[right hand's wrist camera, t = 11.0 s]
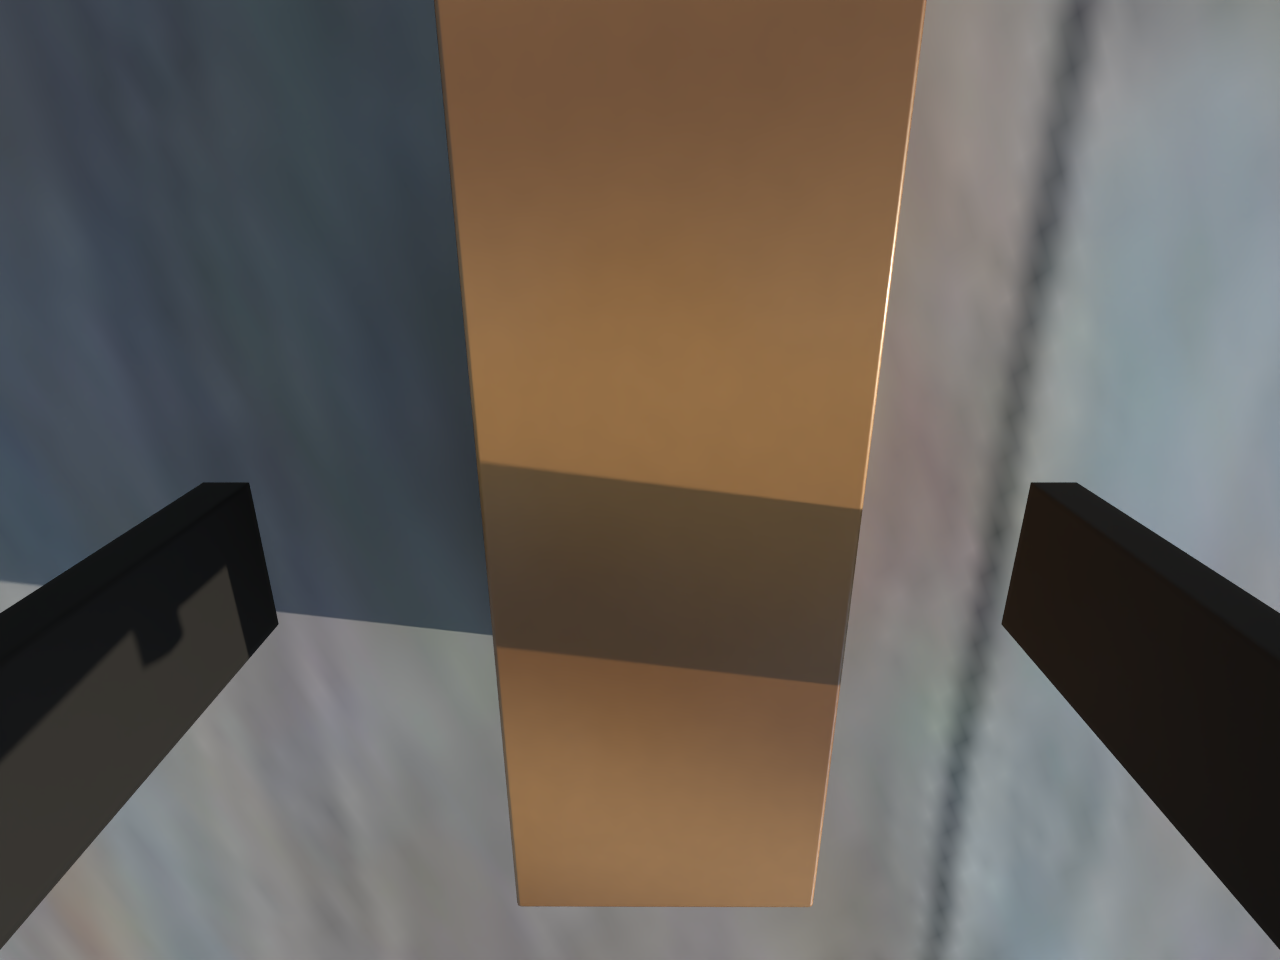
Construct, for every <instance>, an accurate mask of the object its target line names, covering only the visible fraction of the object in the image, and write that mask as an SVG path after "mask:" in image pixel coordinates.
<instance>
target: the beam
mask: <svg viewBox="0 0 1280 960" xmlns="http://www.w3.org/2000/svg"><path fill="white" fill-rule="evenodd" d="M926 1H927V0H434V6H435V17H436V28H437V39H438V49H439V60H440V71H441V82H442V93H443V104H444V114H445V125H446V136H447V147H448V158H449V168H450V179H451V190H452V201H453V212H454V223H455V233H456V244H457V255H458V266H459V277H460V287H461V298H462V309H463V320H464V331H465V342H466V352H467V363H468V374H469V385H470V396H471V406H472V417H473V428H474V439H475V450H476V461H477V471H478V482H479V493H480V504H481V515H482V525H483V536H484V547H485V558H486V569H487V580H488V590H489V601H490V612H491V623H492V634H493V644H494V655H495V666H496V677H497V688H498V699H499V709H500V720H501V731H502V742H503V753H504V763H505V774H506V785H507V796H508V807H509V818H510V828H511V839H512V850H513V861H514V872H515V882H516V893H517V903H518V905H519V906H607V907H811V906H812V904H813V897H814V889H815V881H816V873H817V866H818V858H819V850H820V842H821V834H822V826H823V818H824V810H825V802H826V794H827V786H828V778H829V770H830V762H831V754H832V747H833V739H834V731H835V723H836V715H837V707H838V699H839V691H840V683H841V675H842V667H843V659H844V651H845V643H846V635H847V628H848V620H849V612H850V604H851V596H852V588H853V580H854V572H855V564H856V556H857V548H858V540H859V532H860V524H861V517H862V509H863V501H864V493H865V485H866V477H867V469H868V461H869V453H870V445H871V437H872V429H873V421H874V413H875V405H876V398H877V390H878V382H879V374H880V366H881V358H882V350H883V342H884V334H885V326H886V318H887V310H888V302H889V294H890V286H891V279H892V271H893V263H894V255H895V247H896V239H897V231H898V223H899V215H900V207H901V199H902V191H903V183H904V175H905V168H906V160H907V152H908V144H909V136H910V128H911V120H912V112H913V104H914V96H915V88H916V80H917V72H918V64H919V56H920V49H921V41H922V33H923V25H924V17H925V9H926Z"/></svg>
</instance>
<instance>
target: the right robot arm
mask: <svg viewBox="0 0 1280 960" xmlns="http://www.w3.org/2000/svg"><path fill="white" fill-rule="evenodd" d="M277 625H278V619H277V614H276V610H275V605H274V600H273V595H272V591H271V586H270V581H269V576H268V571H267V567H266V562H265V557H264V552H263V547H262V543H261V538H260V533H259V528H258V523H257V519H256V514H255V509H254V504H253V499H252V495H251V490H250V485H249V483H202V484H200V485H199V486H197V487H196V488H194V489H193V490H191V491H189V492H188V493H186V494H185V495H183V496H182V497H180V498H179V499H177V500H175V501H174V502H172V503H171V504H169V505H168V506H166V507H165V508H163V509H162V510H160V511H158V512H157V513H155V514H154V515H152V516H151V517H149V518H148V519H146V520H144V521H143V522H141V523H140V524H138V525H137V526H135V527H134V528H132V529H130V530H129V531H127V532H126V533H124V534H123V535H121V536H120V537H118V538H116V539H115V540H113V541H112V542H110V543H109V544H107V545H106V546H104V547H102V548H101V549H99V550H98V551H96V552H95V553H93V554H92V555H90V556H88V557H87V558H85V559H84V560H82V561H81V562H79V563H78V564H76V565H75V566H73V567H71V568H70V569H68V570H67V571H65V572H64V573H62V574H61V575H59V576H57V577H56V578H54V579H53V580H51V581H50V582H48V583H47V584H45V585H43V586H42V587H40V588H39V589H37V590H36V591H34V592H33V593H31V594H29V595H28V596H26V597H25V598H23V599H22V600H20V601H19V602H17V603H16V604H14V605H12V606H11V607H9V608H8V609H6V610H5V611H3V612H2V613H0V949H1V948H2V947H3V946H4V945H5V943H6V942H7V941H8V940H9V939H10V938H11V936H12V935H13V934H14V933H15V932H16V931H17V929H18V928H19V927H20V926H21V925H22V924H23V922H24V921H25V920H26V919H27V918H28V917H29V915H30V914H31V913H32V912H33V911H34V910H35V908H36V907H37V906H38V905H39V904H40V902H41V901H42V900H43V899H44V898H45V897H46V895H47V894H48V893H49V892H50V891H51V890H52V888H53V887H54V886H55V885H56V884H57V883H58V881H59V880H60V879H61V878H62V877H63V876H64V874H65V873H66V872H67V871H68V870H69V869H70V867H71V866H72V865H73V864H74V863H75V862H76V860H77V859H78V858H79V857H80V856H81V855H82V853H83V852H84V851H85V850H86V849H87V848H88V846H89V845H90V844H91V843H92V842H93V841H94V839H95V838H96V837H97V836H98V835H99V833H100V832H101V831H102V830H103V829H104V828H105V826H106V825H107V824H108V823H109V822H110V821H111V819H112V818H113V817H114V816H115V815H116V814H117V812H118V811H119V810H120V809H121V808H122V807H123V805H124V804H125V803H126V802H127V801H128V800H129V798H130V797H131V796H132V795H133V794H134V793H135V791H136V790H137V789H138V788H139V787H140V786H141V784H142V783H143V782H144V781H145V780H146V779H147V777H148V776H149V775H150V774H151V773H152V772H153V770H154V769H155V768H156V767H157V766H158V764H159V763H160V762H161V761H162V760H163V759H164V757H165V756H166V755H167V754H168V753H169V752H170V750H171V749H172V748H173V747H174V746H175V745H176V743H177V742H178V741H179V740H180V739H181V738H182V736H183V735H184V734H185V733H186V732H187V731H188V729H189V728H190V727H191V726H192V725H193V724H194V722H195V721H196V720H197V719H198V718H199V717H200V715H201V714H202V713H203V712H204V711H205V710H206V708H207V707H208V706H209V705H210V704H211V703H212V701H213V700H214V699H215V698H216V697H217V696H218V694H219V693H220V692H221V691H222V690H223V688H224V687H225V686H226V685H227V684H228V683H229V681H230V680H231V679H232V678H233V677H234V676H235V674H236V673H237V672H238V671H239V670H240V669H241V667H242V666H243V665H244V664H245V663H246V662H247V660H248V659H249V658H250V657H251V656H252V655H253V653H254V652H255V651H256V650H257V649H258V648H259V646H260V645H261V644H262V643H263V642H264V641H265V639H266V638H267V637H268V636H269V635H270V634H271V632H272V631H273V630H274V629H275V628H276V627H277ZM1002 625H1003V627H1004V628H1005V629H1006V630H1007V631H1008V632H1009V634H1010V635H1011V636H1012V637H1013V638H1014V639H1015V641H1016V642H1017V643H1018V644H1019V645H1020V646H1021V648H1022V649H1023V650H1024V651H1025V652H1026V653H1027V655H1028V656H1029V657H1030V658H1031V659H1032V660H1033V662H1034V663H1035V664H1036V665H1037V666H1038V667H1039V669H1040V670H1041V671H1042V672H1043V673H1044V674H1045V676H1046V677H1047V678H1048V679H1049V680H1050V681H1051V683H1052V684H1053V685H1054V686H1055V687H1056V688H1057V690H1058V691H1059V692H1060V693H1061V694H1062V696H1063V697H1064V698H1065V699H1066V700H1067V701H1068V703H1069V704H1070V705H1071V706H1072V707H1073V708H1074V710H1075V711H1076V712H1077V713H1078V714H1079V715H1080V717H1081V718H1082V719H1083V720H1084V721H1085V722H1086V724H1087V725H1088V726H1089V727H1090V728H1091V729H1092V731H1093V732H1094V733H1095V734H1096V735H1097V736H1098V738H1099V739H1100V740H1101V741H1102V742H1103V743H1104V745H1105V746H1106V747H1107V748H1108V749H1109V750H1110V752H1111V753H1112V754H1113V755H1114V756H1115V757H1116V759H1117V760H1118V761H1119V762H1120V763H1121V765H1122V766H1123V767H1124V768H1125V769H1126V770H1127V772H1128V773H1129V774H1130V775H1131V776H1132V777H1133V779H1134V780H1135V781H1136V782H1137V783H1138V784H1139V786H1140V787H1141V788H1142V789H1143V790H1144V791H1145V793H1146V794H1147V795H1148V796H1149V797H1150V798H1151V800H1152V801H1153V802H1154V803H1155V804H1156V805H1157V807H1158V808H1159V809H1160V810H1161V811H1162V812H1163V814H1164V815H1165V816H1166V817H1167V818H1168V819H1169V821H1170V822H1171V823H1172V824H1173V825H1174V826H1175V828H1176V829H1177V830H1178V831H1179V832H1180V833H1181V835H1182V836H1183V837H1184V838H1185V839H1186V841H1187V842H1188V843H1189V844H1190V845H1191V846H1192V848H1193V849H1194V850H1195V851H1196V852H1197V853H1198V855H1199V856H1200V857H1201V858H1202V859H1203V860H1204V862H1205V863H1206V864H1207V865H1208V866H1209V867H1210V869H1211V870H1212V871H1213V872H1214V873H1215V874H1216V876H1217V877H1218V878H1219V879H1220V880H1221V881H1222V883H1223V884H1224V885H1225V886H1226V887H1227V888H1228V890H1229V891H1230V892H1231V893H1232V894H1233V895H1234V897H1235V898H1236V899H1237V900H1238V901H1239V902H1240V904H1241V905H1242V906H1243V907H1244V908H1245V910H1246V911H1247V912H1248V913H1249V914H1250V915H1251V917H1252V918H1253V919H1254V920H1255V921H1256V922H1257V924H1258V925H1259V926H1260V927H1261V928H1262V929H1263V931H1264V932H1265V933H1266V934H1267V935H1268V936H1269V938H1270V939H1271V940H1272V941H1273V942H1274V943H1275V945H1276V946H1277V947H1278V948H1279V949H1280V613H1278V612H1277V611H1275V610H1274V609H1272V608H1271V607H1269V606H1268V605H1266V604H1264V603H1263V602H1261V601H1260V600H1258V599H1257V598H1255V597H1254V596H1252V595H1251V594H1249V593H1247V592H1246V591H1244V590H1243V589H1241V588H1240V587H1238V586H1237V585H1235V584H1233V583H1232V582H1230V581H1229V580H1227V579H1226V578H1224V577H1223V576H1221V575H1219V574H1218V573H1216V572H1215V571H1213V570H1212V569H1210V568H1209V567H1207V566H1205V565H1204V564H1202V563H1201V562H1199V561H1198V560H1196V559H1195V558H1193V557H1191V556H1190V555H1188V554H1187V553H1185V552H1184V551H1182V550H1181V549H1179V548H1178V547H1176V546H1174V545H1173V544H1171V543H1170V542H1168V541H1167V540H1165V539H1164V538H1162V537H1160V536H1159V535H1157V534H1156V533H1154V532H1153V531H1151V530H1150V529H1148V528H1146V527H1145V526H1143V525H1142V524H1140V523H1139V522H1137V521H1136V520H1134V519H1132V518H1131V517H1129V516H1128V515H1126V514H1125V513H1123V512H1122V511H1120V510H1118V509H1117V508H1115V507H1114V506H1112V505H1111V504H1109V503H1108V502H1106V501H1105V500H1103V499H1101V498H1100V497H1098V496H1097V495H1095V494H1094V493H1092V492H1091V491H1089V490H1087V489H1086V488H1084V487H1083V486H1081V485H1080V484H1078V483H1031V485H1030V490H1029V495H1028V499H1027V504H1026V509H1025V514H1024V519H1023V523H1022V528H1021V533H1020V538H1019V543H1018V547H1017V552H1016V557H1015V562H1014V567H1013V571H1012V576H1011V581H1010V586H1009V591H1008V595H1007V600H1006V605H1005V610H1004V614H1003V619H1002Z"/></svg>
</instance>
